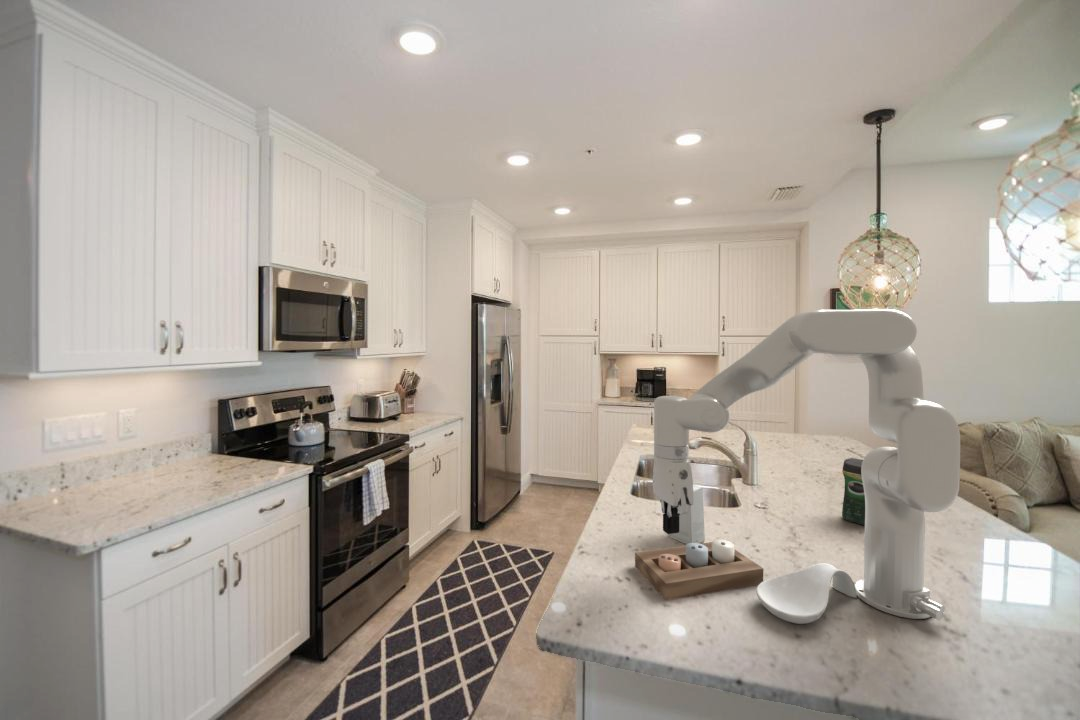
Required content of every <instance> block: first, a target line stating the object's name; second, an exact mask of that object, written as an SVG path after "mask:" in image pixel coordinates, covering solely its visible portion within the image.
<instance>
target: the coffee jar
mask: <svg viewBox="0 0 1080 720" xmlns="http://www.w3.org/2000/svg"><path fill="white" fill-rule="evenodd" d="M862 462H863V459H860V458H854V457H849V458H846V459H844V462H843V464H842V465H843V466H842V471H841V472H842V474H843V477H844V490H843V491H844V492H843V501H842V508H841V509H842V511H841V516H842V518H843V519H844V520H846V521H848V522H852V523H854V522H855V524H859V525H861V524H862V526H865V494H864V487H863V481H862V474H861V467H862Z"/></svg>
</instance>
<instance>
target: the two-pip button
mask: <svg viewBox="0 0 1080 720" xmlns="http://www.w3.org/2000/svg"><path fill="white" fill-rule="evenodd" d="M685 545H686V563H687V564H689V565H690V566H691V567H692V568H698V567H704V566H708V548H707V547H706V546H705V545H702V544H699V543H688V544H685Z"/></svg>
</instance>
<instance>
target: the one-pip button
mask: <svg viewBox="0 0 1080 720" xmlns="http://www.w3.org/2000/svg"><path fill="white" fill-rule="evenodd" d="M711 542H712V558H713V559H714V560H715V561H717V562H718V563H719V564H725V563H731V562H734V549H735V544H734V543H733V542H731V541H729V540H725V539H713V540H712V541H711Z"/></svg>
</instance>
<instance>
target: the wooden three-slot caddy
mask: <svg viewBox="0 0 1080 720" xmlns="http://www.w3.org/2000/svg"><path fill="white" fill-rule="evenodd" d="M700 544H702V545H705V546H706V547H707V548H708V566H704V567H698V568H692V567H691V566H690V565H689V564H687V563H686V545H687V544H684V545H679V546H672V547H671V546H670V547H665V548H658V549H651V550H650V549H649V550H641V551H640V550H639V551H635V552H634V567H635V568H636V569H637V571H639V572H640V574H641V575H642V576H643V577H644V578H645V580H647V581H648V583H650V585H651V586H652V587H653V588H654V589H655V590H656V591H657V593H659V594H660V595H661V596H662V597H663V598H664V600H666V601H668V600H674V599H680V598H685V597H686V598H687V597H692V596H693V597H694V596H698V595H699V596H700V595H704V594H711V593H716V592H722V591H723V592H724V591H728V590H734V589H742V588H747V587H753V586H754V587H755V586H758V585H759V584H760V583H761V582H763V581H764V567H762V566H760V564H758V563H756V562H755V561H753V560H752V559H750V558H749V557H747V556H745V555H744V554H743V553H741V552H740V551H739V550H737V549H735V548H734V562H731V563H725V564H719V563H718V562H717V561H715V560H714V559H713V558H712V541H709V542H702V543H700ZM661 554H673V555H676V556H678V557H679V558H680V559H681V570H677V571H671V572H664V571H663V570H662V569H661V568H660V567H659V556H660V555H661Z"/></svg>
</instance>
